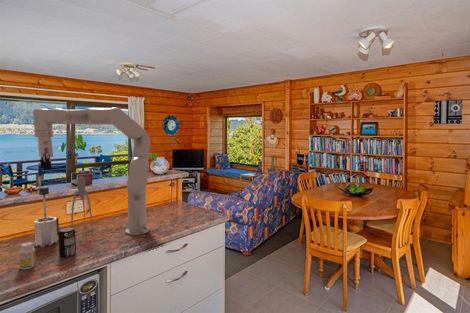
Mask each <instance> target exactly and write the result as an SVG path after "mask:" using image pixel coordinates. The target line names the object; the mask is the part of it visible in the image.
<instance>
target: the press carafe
mask: <svg viewBox="0 0 470 313" xmlns="http://www.w3.org/2000/svg"><path fill="white" fill-rule="evenodd" d="M46 220H52V221H48V222H40V221H44V217H40V218H37V219H35V220H34V221H33V222H34V223H33V225H34V226H33V227H34V243H35V247H36V248H46V247H51V246H54V245H56V244H58V233H59V230H60V222H59V221H60V220H59V217H58V216H57V217H56V216H55V217H54V216H46Z"/></svg>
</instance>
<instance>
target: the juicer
mask: <svg viewBox="0 0 470 313" xmlns="http://www.w3.org/2000/svg"><path fill="white" fill-rule="evenodd" d="M76 187H77V190H75V191H74V195H73V198H72V205H71V217H70V219H71V227H73V228H74V207H75V202H76V198H77V195H79V198H80V200H81V201H82V208H83V223H84V226H85V225H86V209H85V208H86V207H85V206H86V205H85V204H86V203H85V202H86V201H85V197H86V199H87V203H88V209H89V210H88V211H89V216H90V218H89V219H90V228H91V230H92V229H93V216H92V207H91V206H92V205H91V201H90V197H89V194H88V190H86V178H85V177H84V176H79V177H78V178H77V179H76Z"/></svg>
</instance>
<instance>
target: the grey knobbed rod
mask: <svg viewBox="0 0 470 313" xmlns="http://www.w3.org/2000/svg"><path fill="white" fill-rule="evenodd" d="M49 190H50V189H49V186H43V187H42V186H41V187H39V188H38V195H40V196H42V198H43V199H42V201H43V218H44V221H40V222H48V221H52V220H46V217H47V206H46V195H49V194H50V192H49Z"/></svg>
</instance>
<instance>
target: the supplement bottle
mask: <svg viewBox="0 0 470 313" xmlns="http://www.w3.org/2000/svg"><path fill="white" fill-rule="evenodd" d="M20 248H21V249H20V250H19V251H18V252H19V268H20V269H21V270H29V269H33V268H34V267H35V266H36V265H37V262H36V257H37V256H36V248H35V247H34V243H33V242H32V241H29V242H24V243H22V244H21V246H20Z"/></svg>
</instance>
